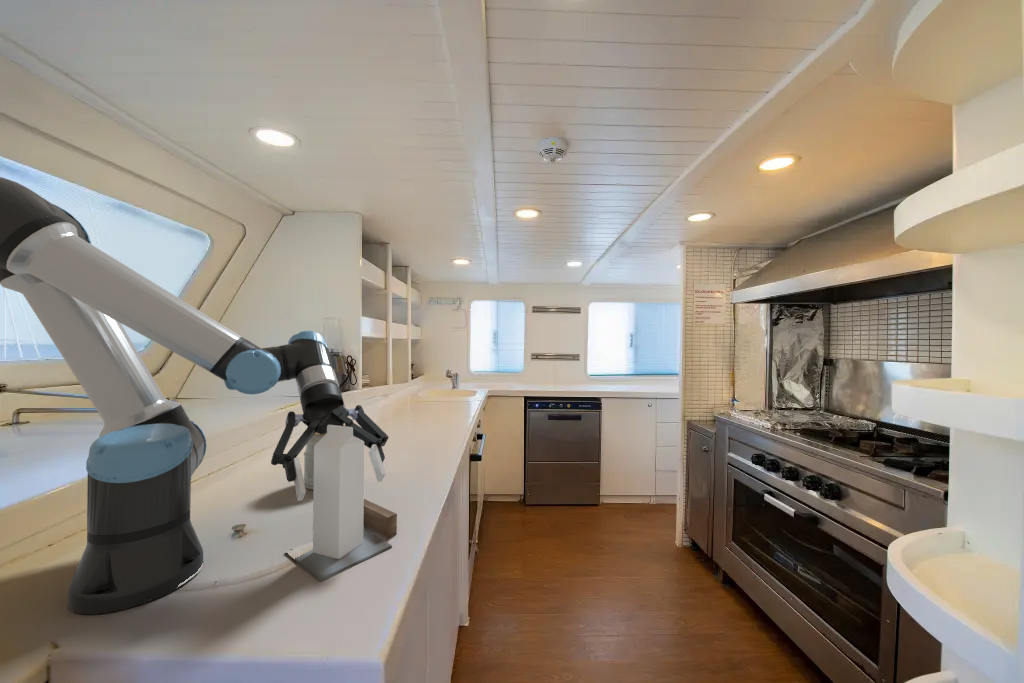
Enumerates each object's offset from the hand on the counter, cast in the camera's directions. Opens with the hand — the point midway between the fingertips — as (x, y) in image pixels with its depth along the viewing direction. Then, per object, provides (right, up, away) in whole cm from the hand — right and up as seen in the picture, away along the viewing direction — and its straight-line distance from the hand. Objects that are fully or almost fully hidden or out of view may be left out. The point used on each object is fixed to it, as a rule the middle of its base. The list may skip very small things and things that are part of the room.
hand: (344, 486), depth 68 cm
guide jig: (-5, -12, +7) cm, 15 cm away
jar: (-19, -12, +36) cm, 43 cm away
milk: (-2, -12, +2) cm, 12 cm away
